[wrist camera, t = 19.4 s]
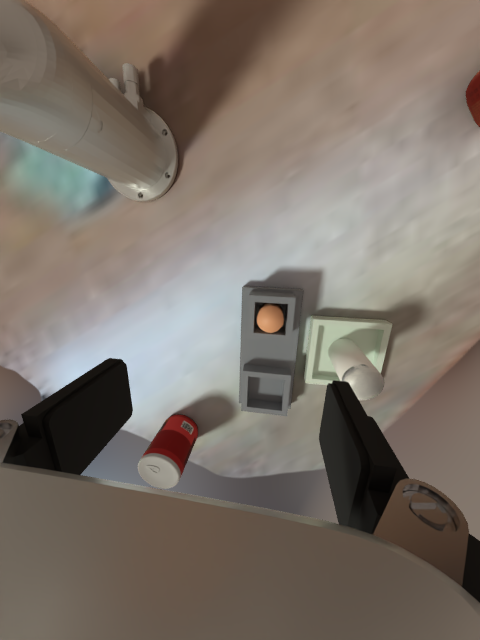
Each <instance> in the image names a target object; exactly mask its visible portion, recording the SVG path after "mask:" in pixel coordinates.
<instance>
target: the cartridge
mask: <svg viewBox="0 0 480 640" xmlns="http://www.w3.org/2000/svg"><path fill="white" fill-rule="evenodd" d="M328 356H329V358H330V360H331V362H332V364H333V367H334V369H335V371H336V373H337V375H338V377H339V379H340V381H346V382H348V383H349V384H350V386H351V388H352V389H353V391H354V393H355V395H356V397H357V398H358V400H369V399H372V398H374V397H376V396H378V395H379V394H380V393H381V391H382V390H383V388H384V378H383V376H382V375H381V374H380V372H379V371H378V370H377V369H376V367H375V366H374V365H373V364H372V363H371V361H370V360H369V359H368V358H367V357H366V355H365V354H364V353H363V352H362V350H361V349H360V348H359V347H358V346H357V344H356V343H355V342H354V341H352V340H350V339H346V338H342V339H338V340H336V341H334V342H333V343H332V344H331V345H330V346H329V349H328Z"/></svg>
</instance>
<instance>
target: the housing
mask: <svg viewBox="0 0 480 640" xmlns="http://www.w3.org/2000/svg"><path fill="white" fill-rule="evenodd" d="M302 298H303V289H293V288H272V287H251V286H243V287H242V318H241V353H240V388H239V403H242V406H241V411H248V412H256V413H265V414H273V415H281V416H287V411H288V409H290V408H291V399H292V389H293V380H294V371H295V362H296V353H297V344H298V335H299V326H300V316H301V307H302ZM264 303H277V304H279V305H280V306H281V308H282V311H283V318H284V322H283V325H282V327H281V328H280V329H279V330H278V331H276V332H273V333H268V332H265V331H263V330H262V329H260V327H259V326H258V323H257V316H258V313H259V309H260V307H261V306H262V305H263V304H264Z"/></svg>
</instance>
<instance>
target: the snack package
mask: <svg viewBox="0 0 480 640" xmlns="http://www.w3.org/2000/svg"><path fill="white" fill-rule="evenodd" d="M466 100H467V105H468V107H469V110H470V112H471V114H472V116H473V118H474V121H475V122H476V124H477V125H478V126H479V127H480V71H479V72H478V73H477V74H476V75H475V77H474V78H473V79H472V80H471V82H470V83H469V85H468V88H467V90H466Z"/></svg>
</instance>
